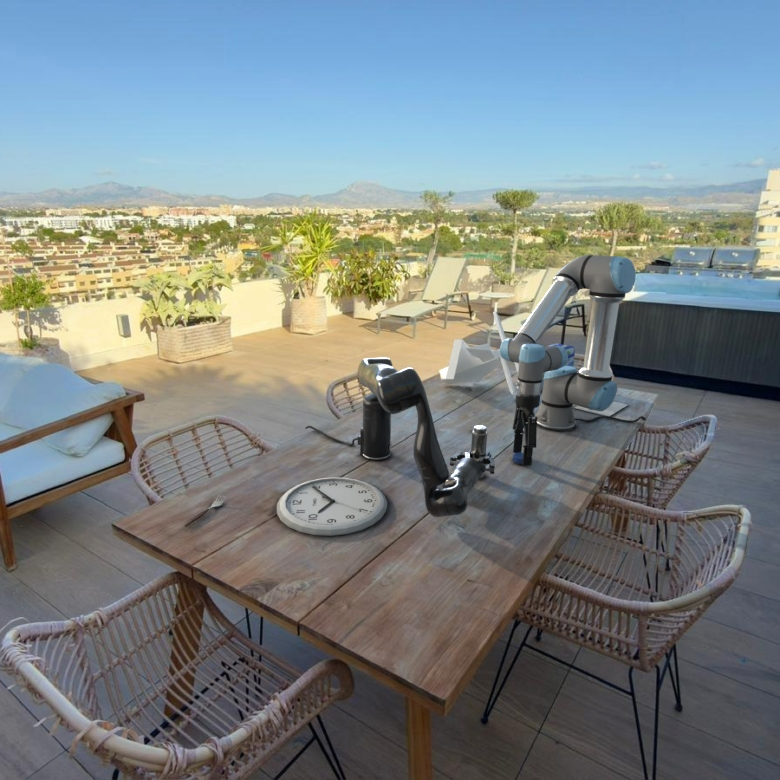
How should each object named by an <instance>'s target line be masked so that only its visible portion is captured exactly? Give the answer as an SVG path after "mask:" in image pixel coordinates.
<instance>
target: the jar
mask: <svg viewBox="0 0 780 780" xmlns="http://www.w3.org/2000/svg"><path fill="white" fill-rule="evenodd" d="M487 430H488V428H487V426H485V425H483V424H477V425H474V426H473V430H472V432H471V447H470V450H471V458H473V459H478V458H480V457H484V456H485V455H486V453H487V443H488V431H487ZM484 477H485V472H484V473H482V474H481V476H480V478H479V479H478V480H481V479H484Z"/></svg>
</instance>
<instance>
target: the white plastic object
mask: <svg viewBox="0 0 780 780" xmlns="http://www.w3.org/2000/svg"><path fill="white" fill-rule="evenodd" d="M492 315H493V319H494V321H495V324H496V325H495V326H496V328H497V332H498V335H499V338H500V342H501V343H502V342H503V341H504V340H506V339H507V337H506V334H505V331H504V328H503V325H502V321H501V318H500V315H499V314H498V312H497V311H496V310H495V311H492ZM508 362H509V361H508V360H505V359H503V358H502V357H501V355H500V348H498V349H496V350H495V349H493V348H492V347H491V346H490V344H489V343H488V342H487V343H483V344H479V345H473V346H469V345H468V343H466V342H465V340H464V339H463V338H460V339H458V338H454V340H453V344H452V349H451V353H450V357H449V362H448V366H446V367H444V368H442V369H440V370H439V371H438V372H439V376H440V381H442V383H443V384H444V385H445V386H449V385H458V384H467V383H468V384H469V383H473V384H477V383H480V382H482V381H484V378H485V377H486V376H487V375H489V374H490V373H492V372H494V371H495V370H496V369H497V368H499V367H500V366H502V370H503V373H504V376H505V380H506V383H507V386H508V390H509V393H510V394H511V395H512V397H513V398H514V399H516V393H517V390H516V388H515V385H514V381H513V378H512V375H511V371H510V369H509V365H508ZM513 363H514V366H515V369H516V372H517V374H518V369H519V363H516V362H513Z"/></svg>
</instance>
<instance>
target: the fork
mask: <svg viewBox="0 0 780 780" xmlns="http://www.w3.org/2000/svg"><path fill="white" fill-rule="evenodd" d="M227 496H228V492H227V493H224V492H219V494H218V496H217V497H216V499H215V500H214V501H213V503H212V504H211V505H210V506H209V507H207V508H206V509H204V510H203V511H201V512H199V513H198V514H196V515H195V516H194V517H193V518H192V519H191V520H190V521H188V522H187V523H186V524H185V525H184V527H188V526H190V525H191V524H192V523H194V522H195V521H198V520H199V519H200V518H202V517H203V516H205V514H207V512H209V511H210V510H211V509H213V508H218V507H221V506H222V505H223V503H224V502H225V500H226V498H227Z"/></svg>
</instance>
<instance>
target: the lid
mask: <svg viewBox="0 0 780 780" xmlns="http://www.w3.org/2000/svg"><path fill="white" fill-rule="evenodd" d="M522 461H523V452H521V453H520V452H518V453H513V454H512V462H514V463H515V464H519V465H522Z"/></svg>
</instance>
